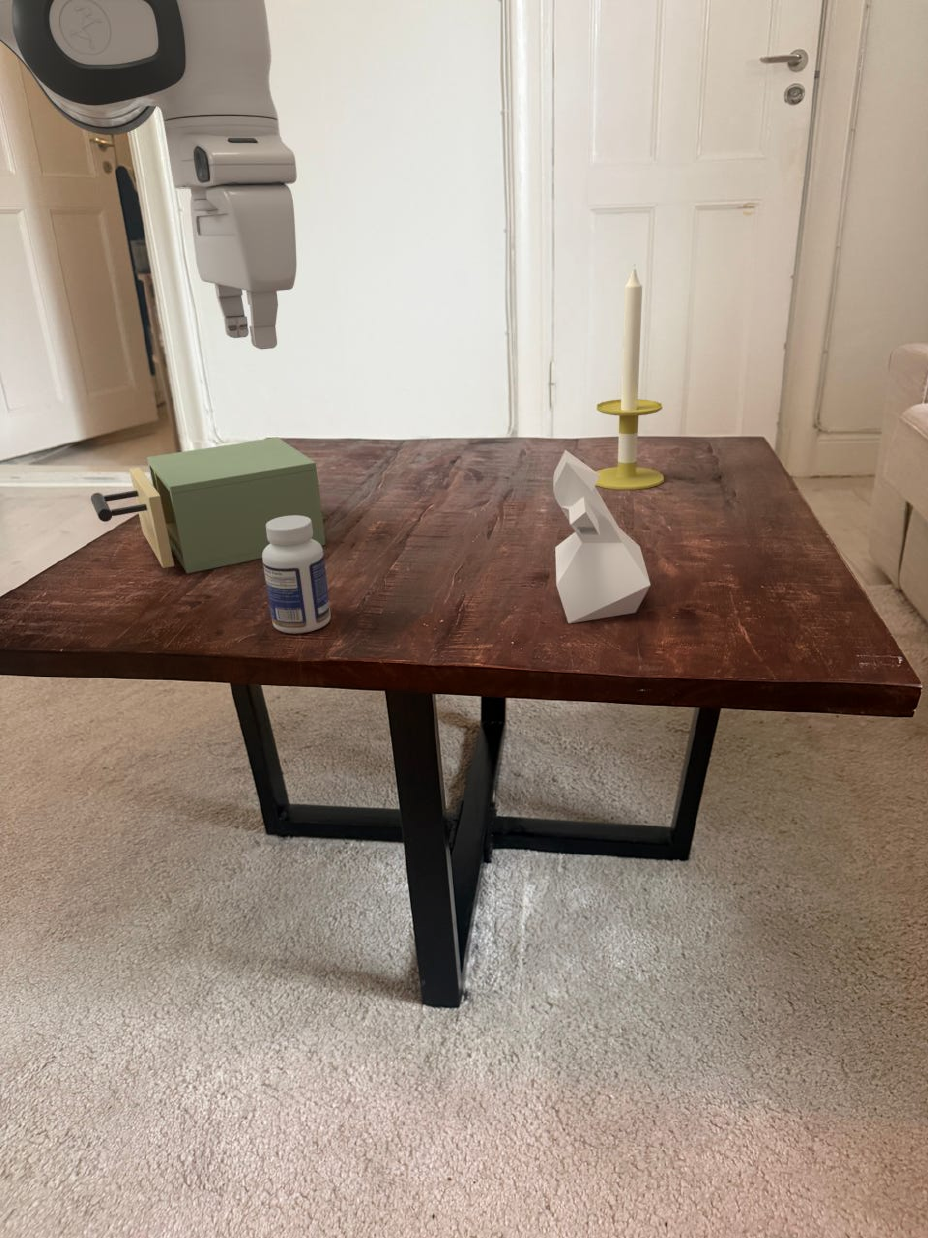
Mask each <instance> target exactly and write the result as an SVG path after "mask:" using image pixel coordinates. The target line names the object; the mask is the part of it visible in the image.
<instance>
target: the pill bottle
mask: <svg viewBox="0 0 928 1238" xmlns="http://www.w3.org/2000/svg"><path fill="white" fill-rule="evenodd" d="M266 533H267V539H268V541H269V542H270V543H271V544H269V545H268V546H266V547H265V549H264V550H263V553H262V558H261V559H262V566H263V573H264V581H265V586H266V592H267V598H268V605H269V612H270V617H271V622H272V625H273V627H274V629H276V630H277V631H279V632H282V633H285V634H295V635H297V634H298V635H299V634H305V633H311V632H314V631H317V630H319V629H322V628H324V627H325V626H326V625H327V624H328V623H329V622H330V621H331V617H332V616H331V613H332V612H331V606H330V605H331V603H330V598H329V589H328V581H327V573H326V572H327V571H326V564H325V556H324V550H323V546H321V545H320V544H319V543H318V542H317V541H316V540H313V539H311V537H312V536H313V528H312V522H311V519H310V518H308V517H305V516H300V515H292V516H283V517H278V518H275V519H273V520H270V521H269V522H267V523H266Z"/></svg>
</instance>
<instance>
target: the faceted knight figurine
mask: <svg viewBox="0 0 928 1238" xmlns="http://www.w3.org/2000/svg"><path fill="white" fill-rule="evenodd" d="M599 477H600V475H599V474H598V473H596V471H595V470H594V469H592V468H591V467H590V466H588V465H587V464H586V463H584V462H583V461H582V460H580V459H579V458H578V457H576V456H575V455H573V453H571V452H569V451H568V450H567V449H565V450H564V452H563V453H562V455H561V457H560V460H559V461H558V464H557V466H556V468H555V470H554V472H553V477H552V489H553V496H554V499H555V501H556V502H557V504H558V506H559V507H560V509H561V511H562V513H563V514H564V516H565V518H566V519H567V520H568V523H569V526H570V527H571V528H572V529H573V530H574V531H573V533H572V534H570V535H569V536H567V538H565V539H564V540H563V541H561V542H560V543H559V544H558V545H556V546H555V548H554V549H555V550H554V552H555V582H556V585H555V586H556V589H557V592H558V595H559V598H560V602H561V604H562V608H563V611H564V615H565V618H566V620H567V624H575V623H580V622H581V623H582V622H586V621H592V620H599V619H607V618H612V617H618V616H623V615H630V614H636V613H637V612H638V609H639V607H640V605H641V604H642V602H643V600H644V599H645V596H646V594H647V593H648V591H649V589H650V587H651V582H650V577H649V574H648V570H647V567H646V564H645V560H644V556H643V553H642V550H641V546H640V545H639V544H638V543H637V542H636V541H635V540H634V539H632V538H631V537H630V536H629V535H628V534H627V533H626V532H625V531H624V530H623V529H622V528H620V526H618V523H617V522H616V520H615V518H614V517H613V515H612V513H611V511H610V509H609V507H608V506H607V504H606V503H605V502H604V499H603V497H602V496H601V494H600V493H599V491H598V489H597V488H596V486H597V485H596V483H597V481H598V479H599Z"/></svg>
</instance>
